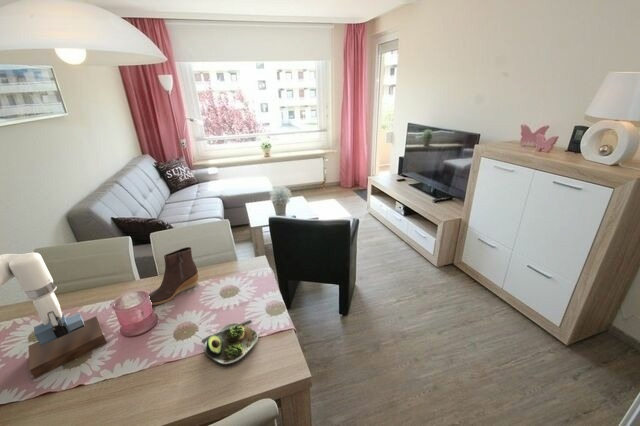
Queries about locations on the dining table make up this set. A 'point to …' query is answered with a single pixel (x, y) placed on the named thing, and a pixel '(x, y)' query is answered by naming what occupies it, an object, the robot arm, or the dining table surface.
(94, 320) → the brown wooden block
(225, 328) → the salad plate
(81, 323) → the stepped blue block
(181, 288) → the boot
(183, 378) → the dining table surface
